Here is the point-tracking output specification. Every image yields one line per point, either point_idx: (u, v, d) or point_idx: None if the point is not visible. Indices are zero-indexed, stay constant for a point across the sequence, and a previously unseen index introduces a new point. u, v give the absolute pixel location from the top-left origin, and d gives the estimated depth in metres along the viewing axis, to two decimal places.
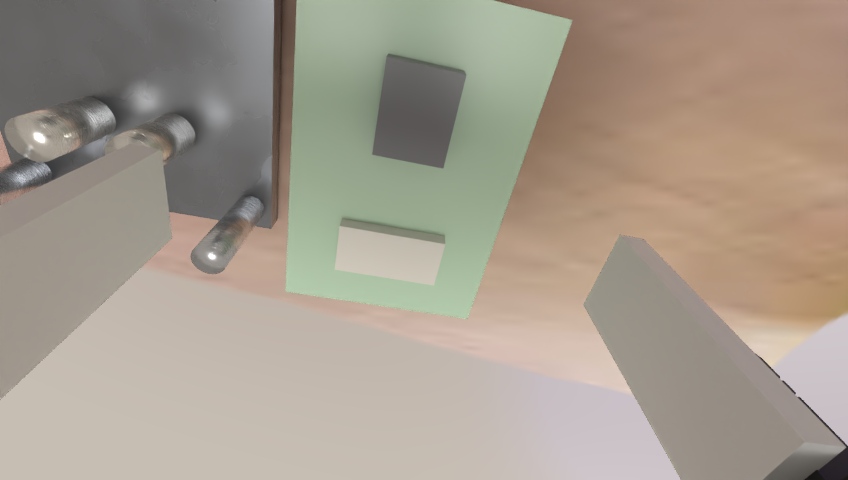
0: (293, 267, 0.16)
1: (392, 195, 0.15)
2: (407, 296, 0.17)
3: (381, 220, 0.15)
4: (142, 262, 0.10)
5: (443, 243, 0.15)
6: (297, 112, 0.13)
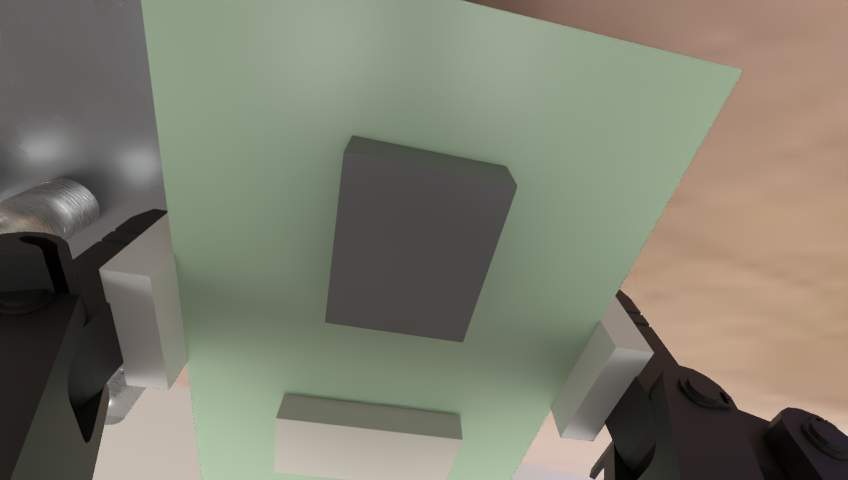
0: (210, 455, 0.10)
1: (370, 362, 0.08)
2: None
3: (351, 396, 0.09)
4: None
5: (459, 437, 0.09)
6: (181, 239, 0.07)
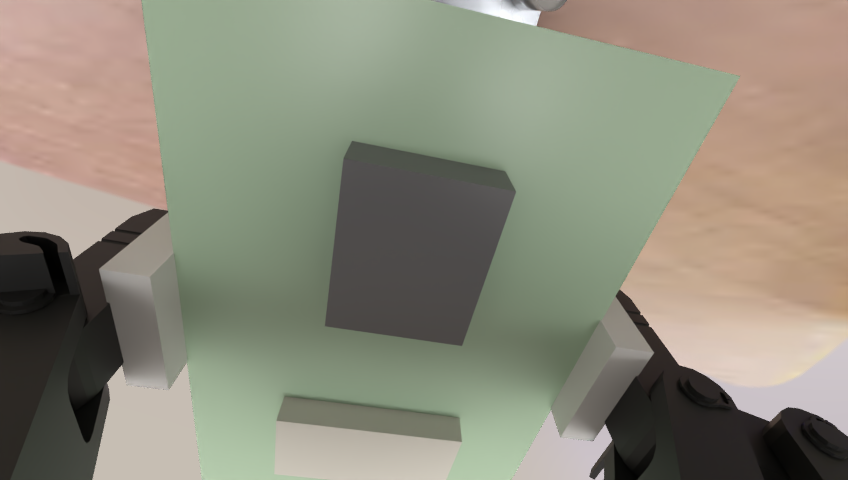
0: (210, 457, 0.10)
1: (369, 365, 0.08)
2: None
3: (351, 399, 0.09)
4: None
5: (458, 439, 0.09)
6: (181, 243, 0.07)
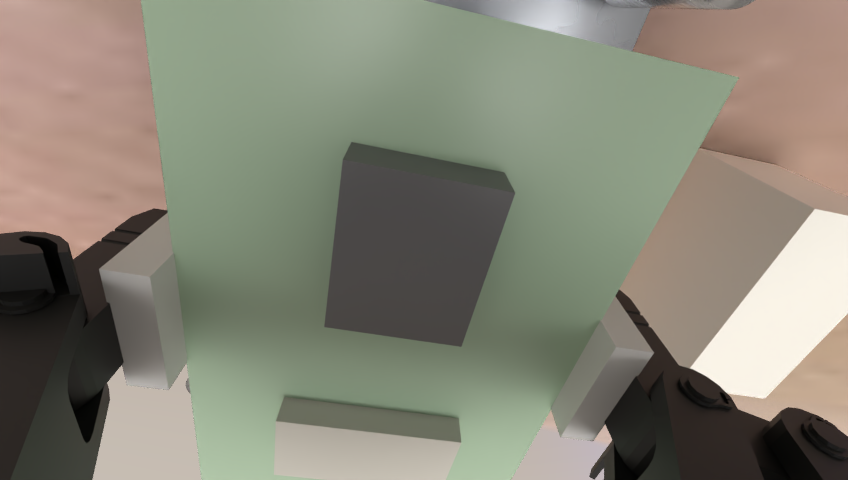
0: (210, 458, 0.10)
1: (369, 366, 0.08)
2: None
3: (351, 400, 0.09)
4: None
5: (458, 440, 0.09)
6: (181, 244, 0.07)
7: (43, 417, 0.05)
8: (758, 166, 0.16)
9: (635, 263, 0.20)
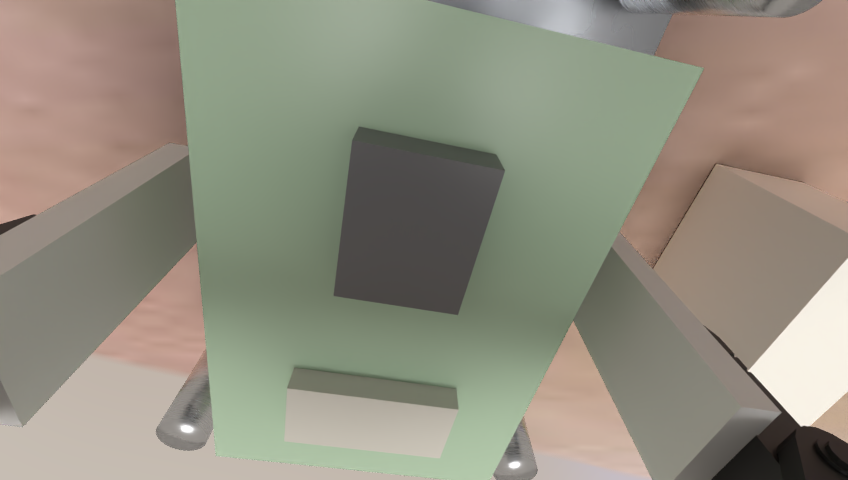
0: (224, 428, 0.11)
1: (373, 337, 0.09)
2: (399, 460, 0.11)
3: (355, 370, 0.10)
4: (180, 255, 0.11)
5: (455, 407, 0.09)
6: (203, 221, 0.08)
7: None
8: (786, 185, 0.15)
9: None
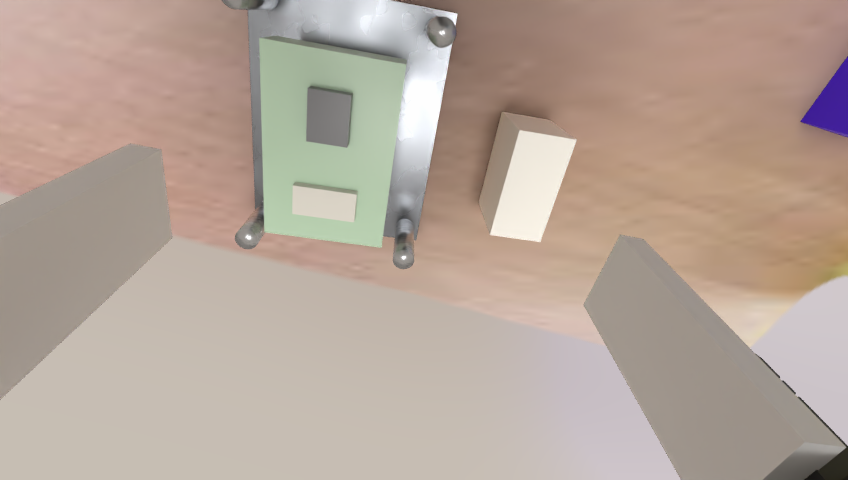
0: (268, 215, 0.27)
1: (323, 166, 0.25)
2: (340, 233, 0.27)
3: (318, 182, 0.26)
4: (142, 262, 0.10)
5: (355, 194, 0.25)
6: (264, 119, 0.24)
7: None
8: (530, 119, 0.31)
9: (484, 181, 0.34)
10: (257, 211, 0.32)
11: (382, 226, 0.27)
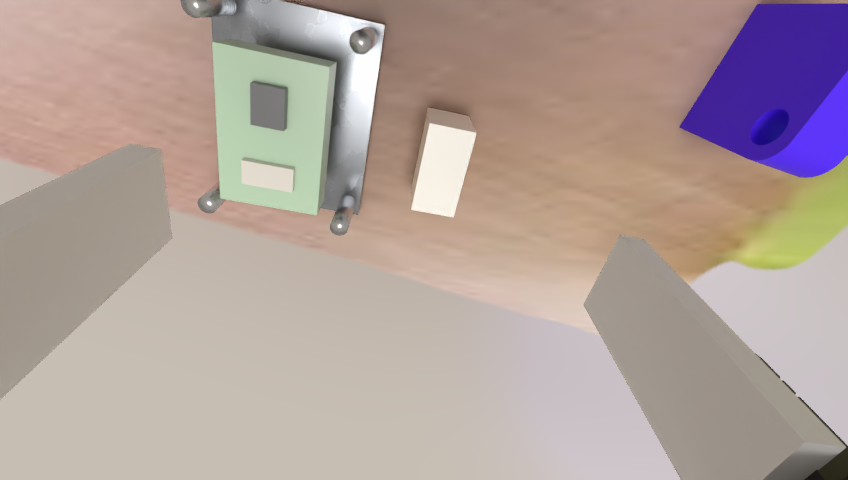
0: (223, 184, 0.33)
1: (266, 145, 0.31)
2: (282, 201, 0.34)
3: (262, 159, 0.32)
4: (142, 262, 0.10)
5: (292, 169, 0.32)
6: (217, 106, 0.30)
7: None
8: (449, 114, 0.37)
9: None
10: None
11: (317, 197, 0.33)
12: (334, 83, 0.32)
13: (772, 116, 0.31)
